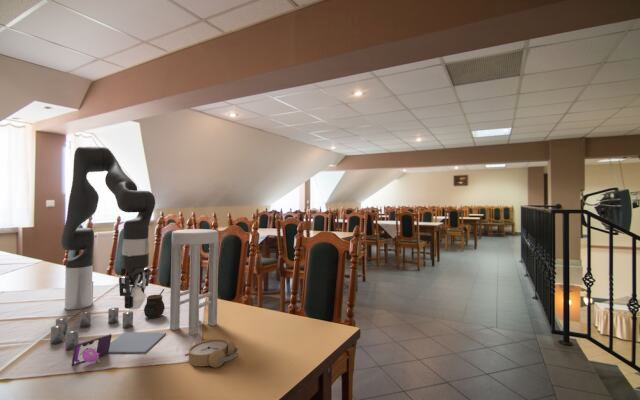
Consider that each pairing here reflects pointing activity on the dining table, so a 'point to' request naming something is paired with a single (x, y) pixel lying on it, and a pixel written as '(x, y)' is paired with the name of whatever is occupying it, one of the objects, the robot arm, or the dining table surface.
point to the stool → (193, 277)
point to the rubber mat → (134, 342)
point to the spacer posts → (84, 326)
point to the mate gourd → (154, 306)
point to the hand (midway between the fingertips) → (134, 304)
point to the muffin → (137, 298)
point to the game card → (92, 350)
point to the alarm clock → (212, 353)
